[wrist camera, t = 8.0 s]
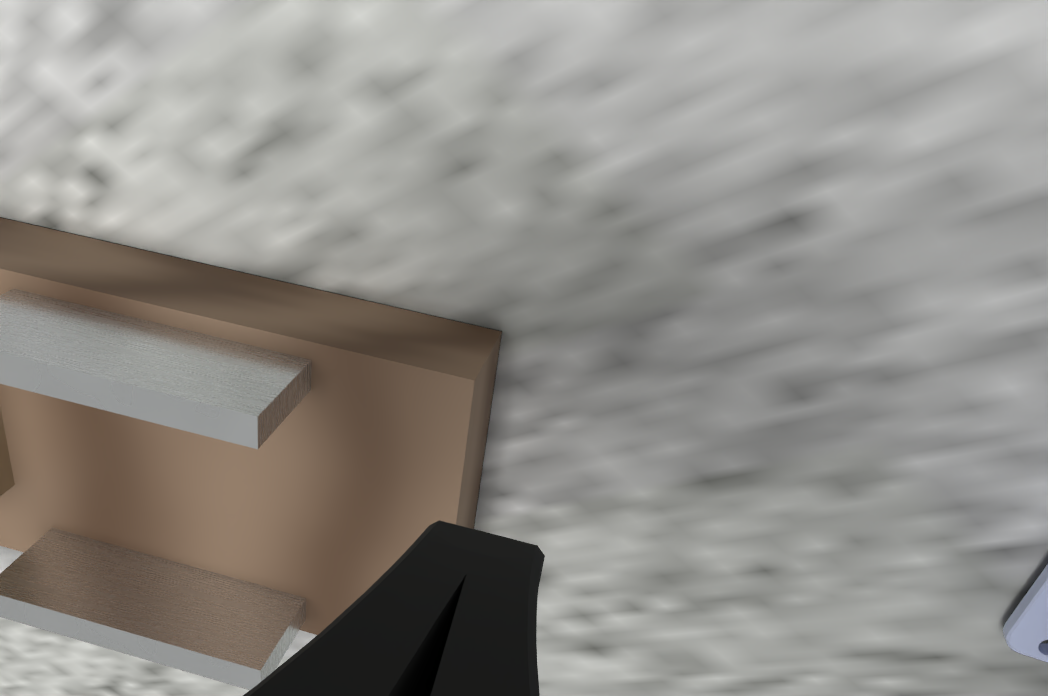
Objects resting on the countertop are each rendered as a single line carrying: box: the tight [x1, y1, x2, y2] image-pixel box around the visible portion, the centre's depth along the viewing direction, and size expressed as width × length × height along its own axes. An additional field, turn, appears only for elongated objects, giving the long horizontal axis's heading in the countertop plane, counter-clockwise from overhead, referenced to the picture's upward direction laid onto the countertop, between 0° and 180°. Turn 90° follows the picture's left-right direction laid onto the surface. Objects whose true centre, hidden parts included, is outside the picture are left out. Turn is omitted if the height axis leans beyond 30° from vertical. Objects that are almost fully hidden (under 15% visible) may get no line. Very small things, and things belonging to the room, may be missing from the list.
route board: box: [0, 218, 502, 635], centre depth 23 cm, size 25×9×2 cm, turn 81°
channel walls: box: [0, 289, 312, 690], centre depth 20 cm, size 8×8×2 cm
